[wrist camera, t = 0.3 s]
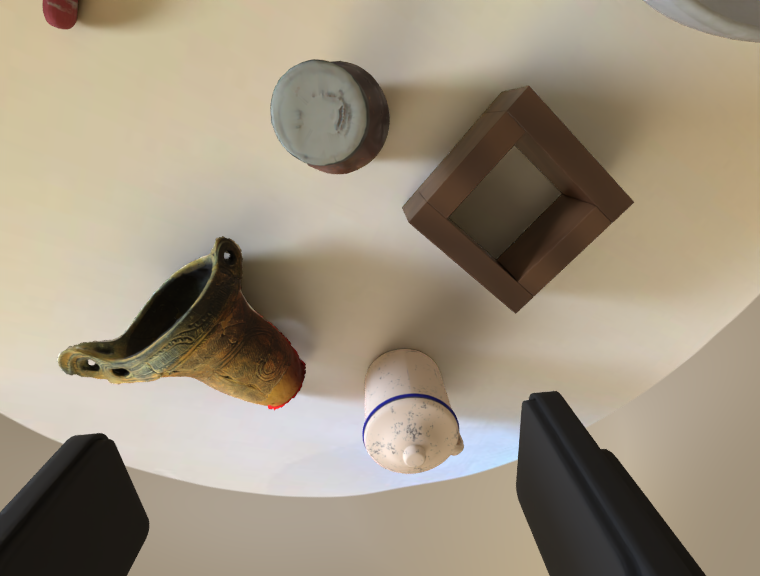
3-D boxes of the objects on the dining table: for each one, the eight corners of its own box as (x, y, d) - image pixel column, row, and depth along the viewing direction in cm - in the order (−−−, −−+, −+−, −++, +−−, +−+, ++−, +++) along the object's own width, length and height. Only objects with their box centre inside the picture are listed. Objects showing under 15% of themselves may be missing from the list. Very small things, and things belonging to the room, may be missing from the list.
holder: (502, 91, 34) (529, 85, 28) (594, 190, 38) (634, 202, 32) (401, 207, 37) (408, 222, 32) (495, 288, 41) (515, 314, 36)
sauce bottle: (399, 119, 34) (441, 113, 16) (354, 176, 36) (346, 230, 18) (339, 63, 33) (309, -13, 14) (295, 126, 34) (218, 130, 16)
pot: (231, 486, 38) (31, 412, 27) (214, 412, 47) (57, 334, 36) (357, 355, 39) (214, 234, 28) (317, 308, 48) (196, 201, 37)
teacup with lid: (346, 386, 45) (341, 469, 34) (397, 330, 42) (409, 400, 32) (425, 435, 48) (443, 525, 38) (477, 386, 46) (512, 467, 35)
